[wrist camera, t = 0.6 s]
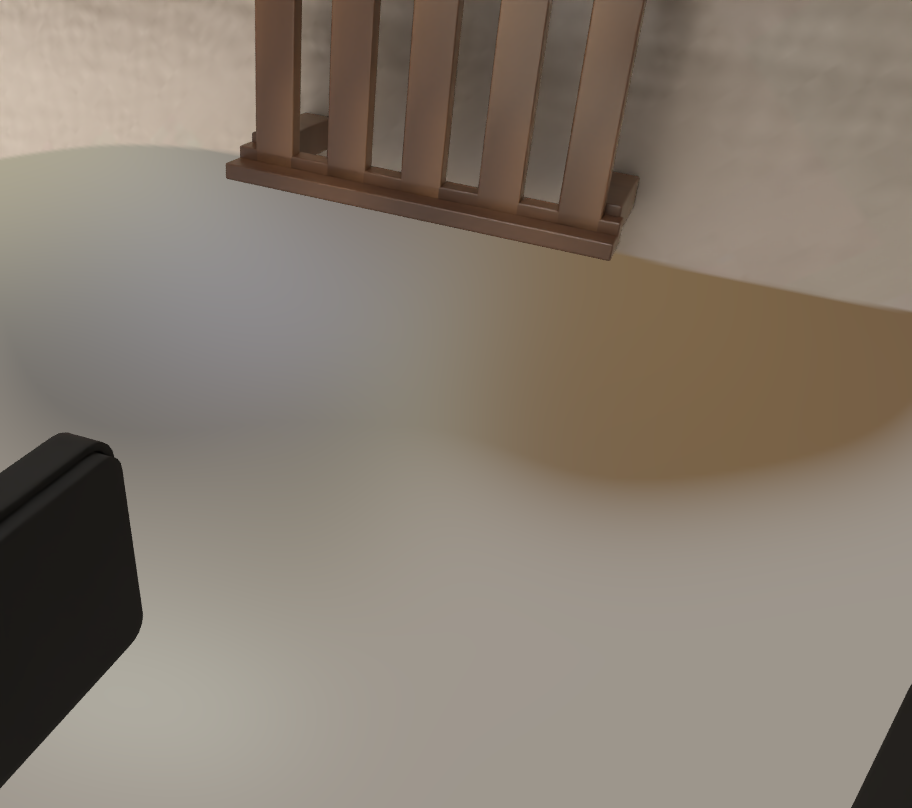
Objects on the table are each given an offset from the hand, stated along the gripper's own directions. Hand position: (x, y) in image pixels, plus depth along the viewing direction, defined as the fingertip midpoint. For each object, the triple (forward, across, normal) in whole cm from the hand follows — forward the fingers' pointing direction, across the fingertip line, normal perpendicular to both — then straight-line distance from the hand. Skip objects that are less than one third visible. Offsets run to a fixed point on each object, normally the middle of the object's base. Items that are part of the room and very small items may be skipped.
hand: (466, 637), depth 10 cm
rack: (+33, +10, -2) cm, 34 cm away
